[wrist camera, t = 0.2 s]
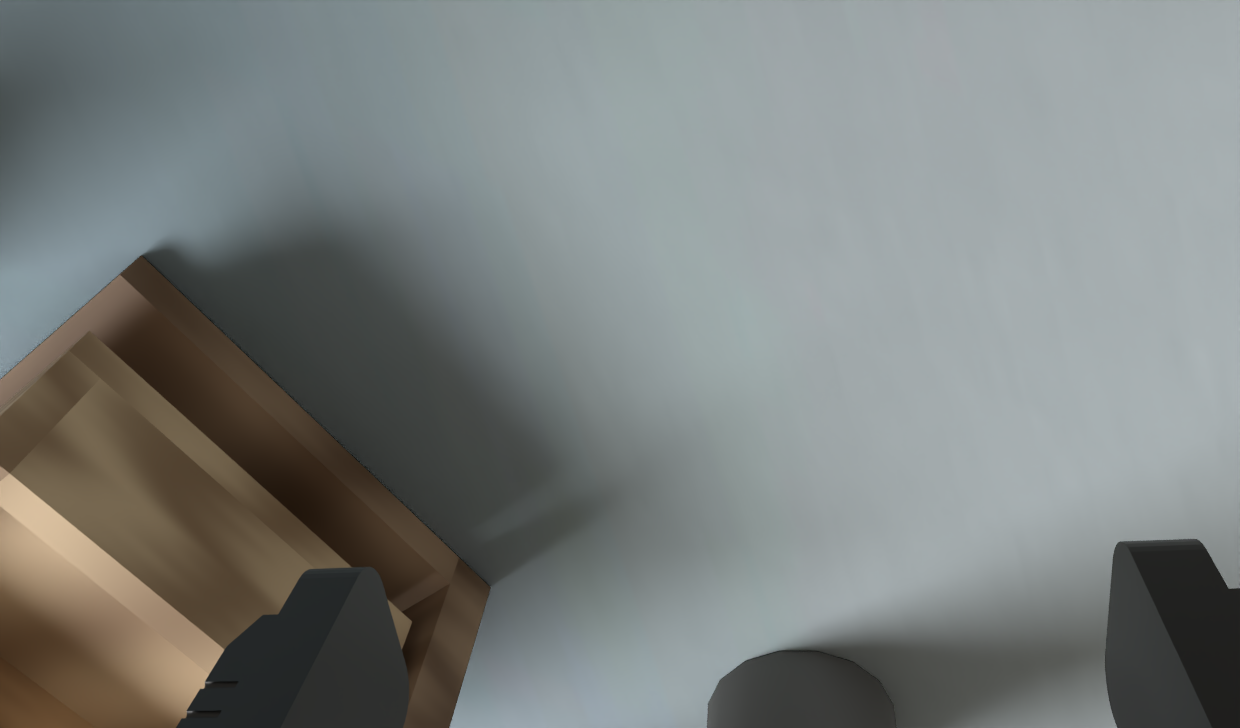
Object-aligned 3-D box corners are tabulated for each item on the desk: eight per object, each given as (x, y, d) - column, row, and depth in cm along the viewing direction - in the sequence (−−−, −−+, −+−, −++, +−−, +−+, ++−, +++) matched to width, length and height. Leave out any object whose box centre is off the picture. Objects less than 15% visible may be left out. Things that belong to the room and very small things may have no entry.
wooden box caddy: (-104, 470, 36) (-409, 747, 26) (141, 255, 31) (-130, 503, 21) (232, 734, 41) (76, 1045, 31) (490, 587, 36) (396, 905, 26)
